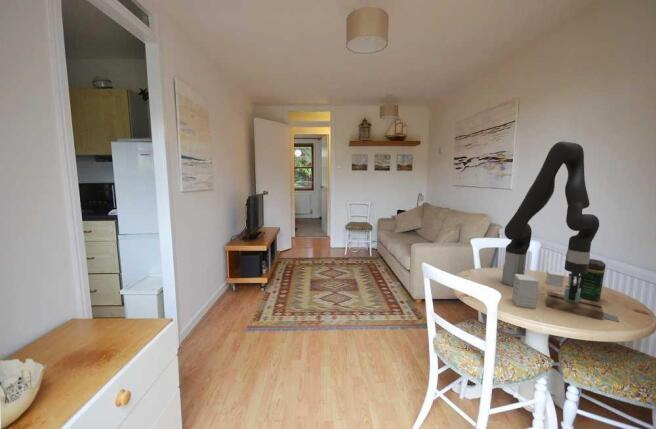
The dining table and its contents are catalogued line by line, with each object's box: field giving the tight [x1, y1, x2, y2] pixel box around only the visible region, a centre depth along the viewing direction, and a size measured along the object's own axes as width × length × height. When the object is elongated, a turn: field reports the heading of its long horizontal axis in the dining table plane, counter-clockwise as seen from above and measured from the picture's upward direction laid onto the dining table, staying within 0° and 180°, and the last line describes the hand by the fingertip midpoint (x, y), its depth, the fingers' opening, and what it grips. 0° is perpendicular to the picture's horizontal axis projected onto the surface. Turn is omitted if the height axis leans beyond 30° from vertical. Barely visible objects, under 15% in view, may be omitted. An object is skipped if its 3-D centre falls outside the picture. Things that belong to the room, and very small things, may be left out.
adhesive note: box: [545, 270, 565, 288], centre depth 150 cm, size 6×6×6 cm
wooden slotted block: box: [545, 291, 605, 321], centre depth 122 cm, size 18×11×4 cm, turn 50°
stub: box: [563, 284, 581, 303], centre depth 122 cm, size 5×2×9 cm, turn 50°
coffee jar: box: [579, 258, 607, 302], centre depth 132 cm, size 10×8×19 cm
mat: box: [603, 312, 620, 323], centre depth 115 cm, size 4×6×1 cm
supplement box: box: [511, 274, 539, 309], centre depth 125 cm, size 7×7×13 cm
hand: (571, 298), depth 122 cm, fingers closed on stub
